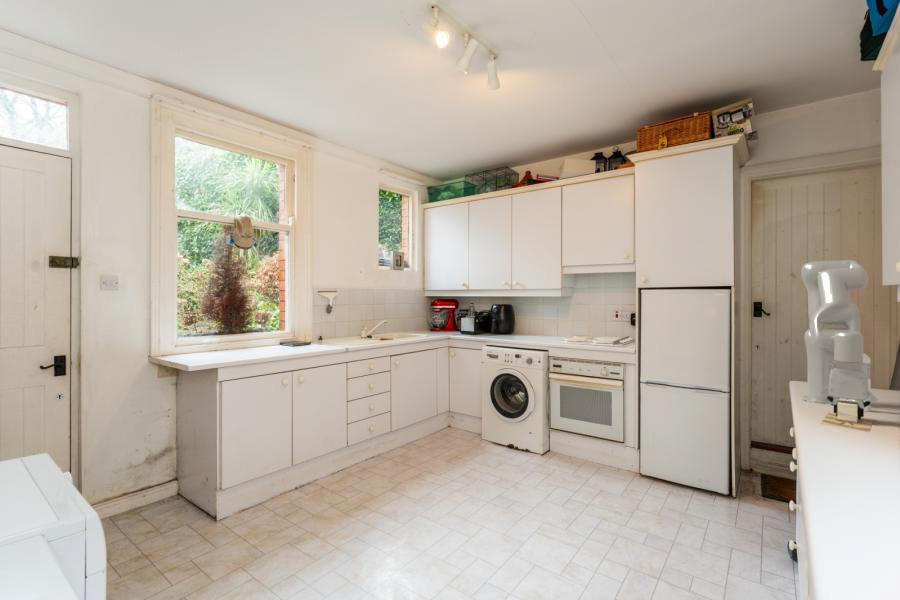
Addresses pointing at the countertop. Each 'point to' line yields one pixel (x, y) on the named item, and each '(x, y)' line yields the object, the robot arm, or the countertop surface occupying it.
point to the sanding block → (847, 411)
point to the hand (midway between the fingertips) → (848, 416)
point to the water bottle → (867, 369)
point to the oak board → (861, 425)
